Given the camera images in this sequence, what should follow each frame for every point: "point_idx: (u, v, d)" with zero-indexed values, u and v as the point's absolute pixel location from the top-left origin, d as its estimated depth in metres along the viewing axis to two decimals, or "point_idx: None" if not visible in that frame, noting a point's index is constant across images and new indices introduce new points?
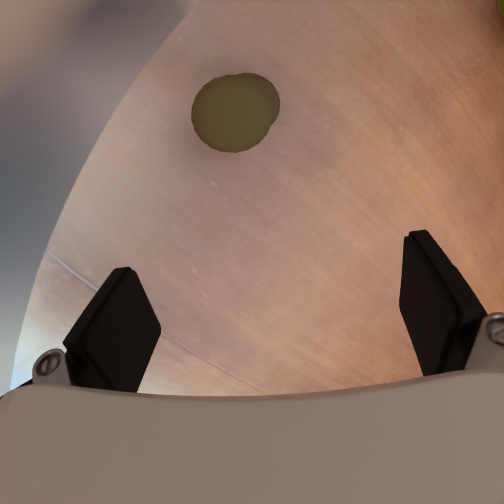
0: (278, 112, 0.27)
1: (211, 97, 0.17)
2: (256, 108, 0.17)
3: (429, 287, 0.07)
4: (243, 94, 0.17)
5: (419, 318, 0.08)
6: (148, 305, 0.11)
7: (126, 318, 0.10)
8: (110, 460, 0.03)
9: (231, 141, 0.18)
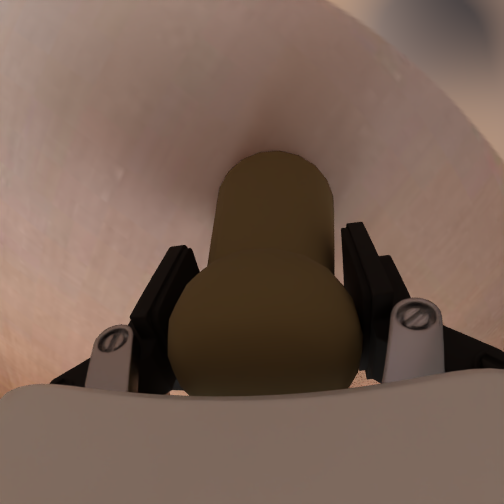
0: None
1: (308, 364, 0.06)
2: None
3: (353, 274, 0.08)
4: None
5: None
6: None
7: None
8: (110, 460, 0.03)
9: (199, 395, 0.07)
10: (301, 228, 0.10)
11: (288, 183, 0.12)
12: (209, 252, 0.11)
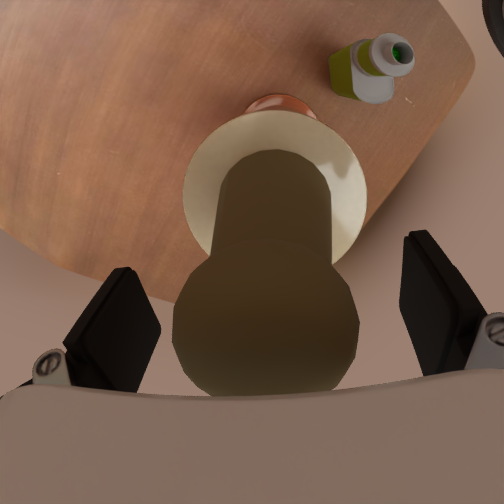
0: None
1: (307, 346, 0.07)
2: None
3: (429, 287, 0.07)
4: (317, 391, 0.08)
5: (419, 318, 0.08)
6: (148, 305, 0.11)
7: (126, 318, 0.10)
8: (110, 460, 0.03)
9: (202, 380, 0.08)
10: (300, 222, 0.10)
11: (287, 179, 0.12)
12: (211, 245, 0.11)
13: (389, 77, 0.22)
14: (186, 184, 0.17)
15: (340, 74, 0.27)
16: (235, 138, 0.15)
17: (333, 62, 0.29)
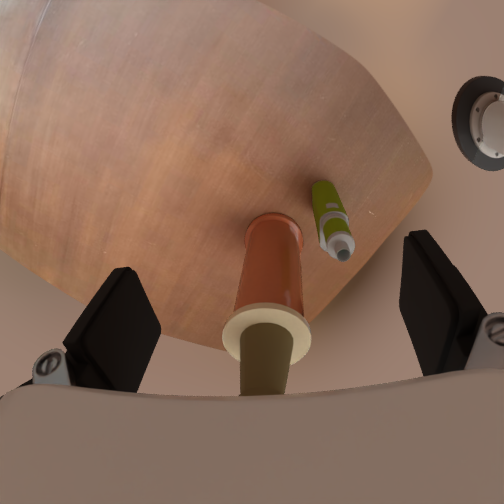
0: None
1: None
2: None
3: (429, 287, 0.07)
4: None
5: (419, 318, 0.08)
6: (148, 305, 0.11)
7: (126, 318, 0.10)
8: (110, 460, 0.03)
9: None
10: (273, 375, 0.28)
11: (270, 349, 0.30)
12: (241, 378, 0.29)
13: None
14: (224, 332, 0.34)
15: (316, 217, 0.45)
16: (248, 318, 0.33)
17: (313, 198, 0.47)
